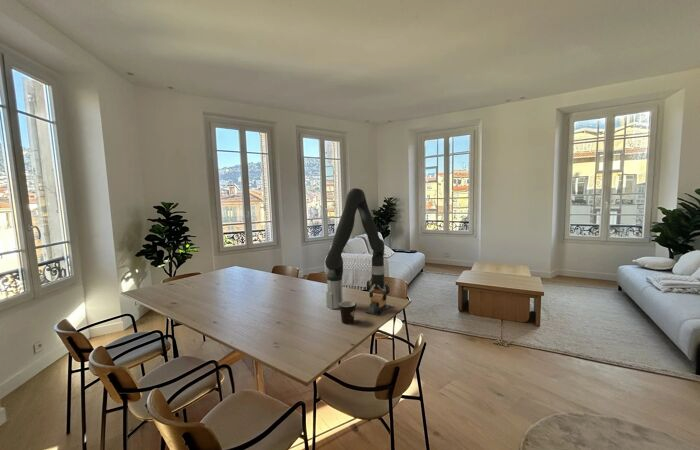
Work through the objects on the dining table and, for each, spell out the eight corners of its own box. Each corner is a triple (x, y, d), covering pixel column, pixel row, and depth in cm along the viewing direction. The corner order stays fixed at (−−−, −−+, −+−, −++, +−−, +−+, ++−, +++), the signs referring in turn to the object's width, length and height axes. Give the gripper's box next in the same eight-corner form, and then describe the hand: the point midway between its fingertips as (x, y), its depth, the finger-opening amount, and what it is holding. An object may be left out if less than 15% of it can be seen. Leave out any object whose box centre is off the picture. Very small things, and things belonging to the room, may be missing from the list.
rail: (379, 315, 173) (378, 305, 173) (365, 312, 178) (365, 302, 177) (390, 306, 187) (390, 297, 186) (377, 304, 191) (377, 295, 191)
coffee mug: (344, 326, 160) (343, 307, 159) (337, 320, 168) (336, 303, 167) (363, 321, 165) (363, 303, 164) (355, 316, 173) (355, 299, 172)
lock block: (376, 302, 187) (376, 294, 186) (385, 303, 183) (385, 295, 183) (370, 305, 181) (370, 297, 180) (380, 307, 178) (380, 299, 177)
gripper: (364, 272, 181) (364, 299, 182) (386, 275, 173) (386, 303, 175) (370, 269, 187) (370, 295, 189) (391, 272, 180) (391, 299, 181)
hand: (377, 299), depth 182 cm, fingers open, 8 cm apart
